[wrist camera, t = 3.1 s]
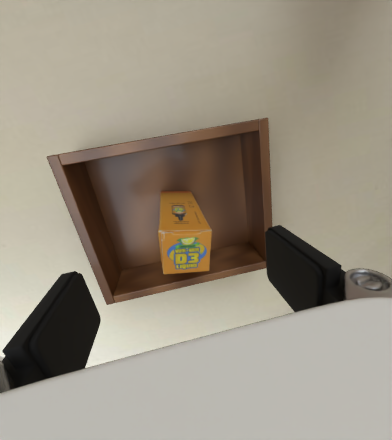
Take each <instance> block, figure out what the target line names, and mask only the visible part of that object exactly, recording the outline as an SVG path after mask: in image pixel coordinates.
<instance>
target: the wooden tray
mask: <svg viewBox="0 0 392 440" xmlns="http://www.w3.org/2000/svg"><path fill="white" fill-rule="evenodd" d="M47 159H48V161H49V164H50V166H51V169H52V171H53V174H54V176H55V179H56V181H57V184H58V186H59V188H60V191H61V193H62V196H63V198H64V201H65V203H66V206H67V208H68V211H69V213H70V215H71V218H72V220H73V223H74V225H75V228H76V230H77V233H78V235H79V238H80V240H81V243H82V245H83V247H84V250H85V252H86V255H87V257H88V260H89V262H90V265H91V267H92V270H93V272H94V274H95V277H96V279H97V282H98V284H99V287H100V289H101V292H102V294H103V297H104V299H105V302H106V304H107V305H109V304H113V303H117V302H122V301H126V300H130V299H134V298H139V297H143V296H147V295H152V294H156V293H160V292H165V291H169V290H173V289H178V288H182V287H186V286H191V285H195V284H199V283H203V282H208V281H212V280H216V279H221V278H225V277H229V276H234V275H238V274H242V273H247V272H251V271H255V270H260V269H264V268H267V262H266V243H265V232H266V231H268V228H269V227H272V205H271V180H270V154H269V128H268V118H263V119H258V120H251V121H246V122H240V123H234V124H228V125H223V126H217V127H211V128H206V129H200V130H194V131H188V132H183V133H177V134H171V135H166V136H160V137H154V138H149V139H143V140H137V141H131V142H126V143H120V144H114V145H109V146H103V147H97V148H91V149H86V150H80V151H74V152H69V153H63V154H58V155H52V156H47ZM161 191H191V192H192V194H193V196H194V198H195V200H196V202H197V204H198V206H199V208H200V210H201V212H202V214H203V215H204V217H205V219H206V221H207V223H208V225H209V226H210V228H211V230H212V239H211V250H210V265H209V271H204V272H188V273H175V274H163V269H162V262H161V254H160V246H159V238H158V230H159V221H160V192H161Z"/></svg>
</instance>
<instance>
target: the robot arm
mask: <svg viewBox="0 0 392 440" xmlns="http://www.w3.org/2000/svg"><path fill="white" fill-rule="evenodd" d="M265 243H266V262H267V276H268V279H269V281H270V282H271V283H272V284H273V286H274V287H275V288H276V289H277V291H278V292H279V293H280V294H281V296H282V297H283V298H284V299H285V301H286V302H287V303H288V304H289V306H290V307H291V308H292V309H293V310H294V313H290V314H287V315H283V316H279V317H275V318H271V319H268V320H264V321H260V322H256V323H252V324H249V325H245V326H241V327H237V328H234V329H230V330H226V331H222V332H219V333H215V334H211V335H207V336H204V337H200V338H196V339H192V340H189V341H185V342H181V343H177V344H174V345H170V346H166V347H163V348H159V349H155V350H151V351H148V352H144V353H140V354H137V355H133V356H129V357H125V358H122V359H118V360H114V361H111V362H107V363H103V364H100V365H96V366H92V367H89V368H85V366H86V363H87V360H88V357H89V354H90V351H91V348H92V346H93V343H94V340H95V337H96V334H97V331H98V328H99V325H100V315H99V313H98V310H97V308H96V306H95V303H94V301H93V299H92V296H91V294H90V292H89V289H88V287H87V285H86V283H85V280H84V278H83V276H82V274H80V273H79V274H78V273H77V272H76V271H74V272H70V273H65V274H62V275H61V276H60V277H59V278H58V280H57V281H56V282H55V283H54V285H53V286H52V287H51V289H50V290H49V291H48V292H47V294H46V295H45V296H44V298H43V299H42V300H41V302H40V303H39V304H38V305H37V307H36V308H35V309H34V311H33V312H32V313H31V314H30V316H29V317H28V318H27V320H26V321H25V322H24V323H23V325H22V326H21V327H20V329H19V330H18V331H17V332H16V334H15V335H14V336H13V338H12V339H11V340H10V342H9V343H8V344H7V345H6V347H5V348H4V349H3V353H4V354H5V358H4V359H3V360H2V361H0V440H392V279H391V278H390V277H388V276H386V275H384V274H383V273H380V272H377V271H374V270H370V269H361V268H358V269H351V270H348V271H347V272H345V271H343V270H342V269H341V265H340V264H338V263H337V262H335V261H334V260H332V259H331V258H329V257H328V256H326V255H325V254H323V253H322V252H320V251H319V250H317V249H315V248H314V247H312V246H311V245H309V244H308V243H306V242H305V241H303V240H302V239H300V238H299V237H297V236H296V235H294V234H293V233H291V232H290V231H288V230H287V229H285V228H284V227H282V226H280V225H278V226H274V227H269V228H268V231H266V232H265Z"/></svg>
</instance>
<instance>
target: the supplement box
mask: <svg viewBox="0 0 392 440" xmlns="http://www.w3.org/2000/svg"><path fill="white" fill-rule="evenodd" d="M158 238H159V246H160V254H161V262H162V269H163V274H175V273H188V272H204V271H209V265H210V250H211V239H212V230H211V228H210V226H209V225H208V223H207V221H206V219H205V217H204V215H203V214H202V212H201V210H200V208H199V206H198V204H197V202H196V200H195V198H194V196H193V194H192V192H191V191H161V192H160V221H159V230H158Z"/></svg>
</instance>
